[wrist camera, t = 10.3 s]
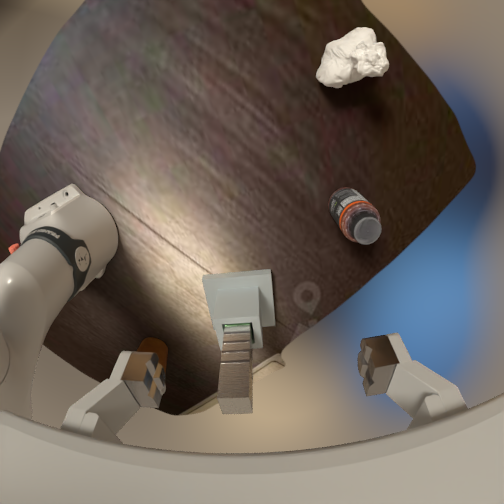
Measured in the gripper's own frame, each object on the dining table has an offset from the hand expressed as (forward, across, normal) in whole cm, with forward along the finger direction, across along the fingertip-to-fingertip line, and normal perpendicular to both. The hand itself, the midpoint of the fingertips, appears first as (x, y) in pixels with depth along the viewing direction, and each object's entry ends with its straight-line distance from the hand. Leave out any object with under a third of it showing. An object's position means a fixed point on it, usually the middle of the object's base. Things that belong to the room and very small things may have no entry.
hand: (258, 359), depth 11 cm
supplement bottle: (+38, -14, +8) cm, 41 cm away
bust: (+38, -15, -16) cm, 43 cm away
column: (+30, +5, +25) cm, 39 cm away
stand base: (+37, +5, +25) cm, 45 cm away
